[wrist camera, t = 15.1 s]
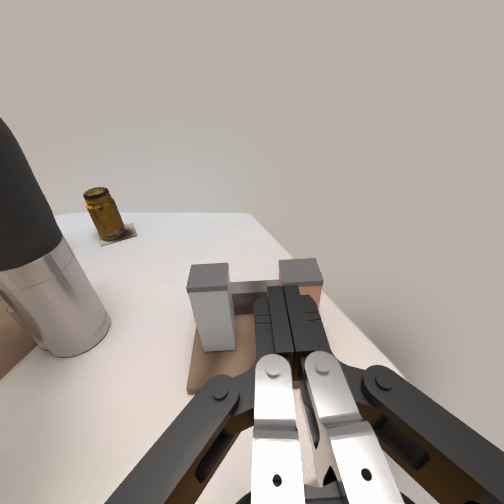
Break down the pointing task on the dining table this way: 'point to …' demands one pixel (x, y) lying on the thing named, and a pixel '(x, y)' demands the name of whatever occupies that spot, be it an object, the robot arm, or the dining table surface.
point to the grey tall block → (212, 305)
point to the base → (245, 348)
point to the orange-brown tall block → (302, 276)
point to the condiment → (107, 216)
